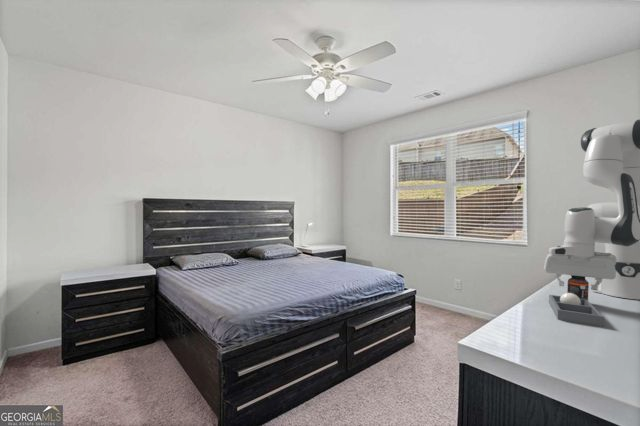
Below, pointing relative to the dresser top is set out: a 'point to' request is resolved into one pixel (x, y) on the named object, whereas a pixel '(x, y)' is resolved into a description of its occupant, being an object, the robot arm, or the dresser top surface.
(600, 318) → the divided tray
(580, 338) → the dresser top surface
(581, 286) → the supplement bottle
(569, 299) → the ceramic ball
